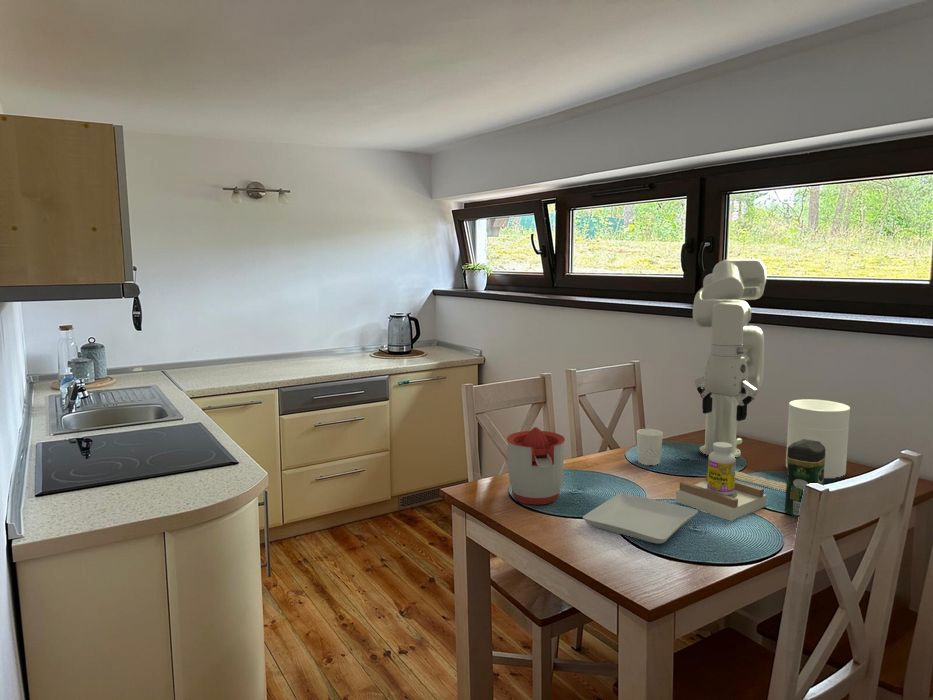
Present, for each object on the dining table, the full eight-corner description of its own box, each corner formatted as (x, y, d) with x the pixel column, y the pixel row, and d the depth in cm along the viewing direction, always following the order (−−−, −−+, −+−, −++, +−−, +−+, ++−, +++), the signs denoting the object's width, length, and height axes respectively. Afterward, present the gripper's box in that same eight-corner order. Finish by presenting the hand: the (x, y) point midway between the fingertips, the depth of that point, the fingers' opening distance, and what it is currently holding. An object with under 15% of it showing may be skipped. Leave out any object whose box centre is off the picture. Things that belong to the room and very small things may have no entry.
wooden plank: (714, 476, 190) (714, 470, 190) (726, 471, 195) (726, 465, 195) (796, 497, 172) (796, 491, 172) (807, 491, 177) (807, 485, 177)
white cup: (665, 466, 198) (665, 435, 197) (639, 466, 198) (640, 435, 197) (657, 458, 206) (658, 428, 205) (633, 458, 206) (634, 428, 205)
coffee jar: (792, 503, 166) (796, 435, 164) (825, 511, 161) (830, 440, 158) (779, 514, 160) (783, 443, 157) (814, 523, 154) (818, 449, 152)
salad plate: (580, 529, 154) (580, 515, 154) (620, 503, 170) (620, 490, 170) (664, 554, 140) (664, 539, 140) (699, 522, 156) (699, 509, 156)
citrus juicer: (515, 513, 163) (515, 438, 160) (502, 490, 180) (501, 421, 178) (574, 509, 166) (574, 434, 163) (555, 486, 183) (555, 418, 180)
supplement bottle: (702, 492, 167) (704, 445, 165) (712, 485, 172) (714, 439, 170) (728, 498, 162) (730, 449, 160) (738, 491, 167) (740, 443, 165)
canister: (857, 472, 189) (862, 407, 186) (822, 481, 182) (826, 413, 179) (808, 458, 203) (811, 397, 201) (774, 466, 196) (777, 403, 194)
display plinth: (711, 488, 178) (712, 471, 177) (766, 506, 165) (767, 487, 164) (675, 501, 169) (676, 483, 168) (730, 521, 156) (730, 501, 155)
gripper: (766, 353, 157) (763, 420, 159) (705, 346, 171) (703, 407, 173) (749, 356, 152) (746, 425, 155) (688, 348, 166) (686, 412, 169)
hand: (723, 416), depth 164 cm, fingers open, 9 cm apart
